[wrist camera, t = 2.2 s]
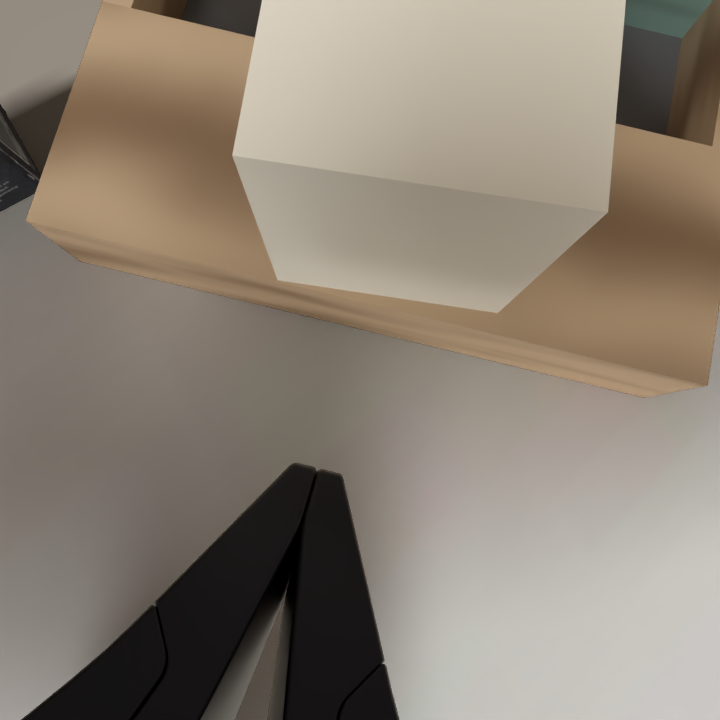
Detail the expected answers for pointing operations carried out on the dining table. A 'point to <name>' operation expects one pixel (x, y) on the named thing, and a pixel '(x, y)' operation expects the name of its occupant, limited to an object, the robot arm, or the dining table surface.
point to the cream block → (429, 141)
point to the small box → (14, 166)
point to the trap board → (380, 313)
